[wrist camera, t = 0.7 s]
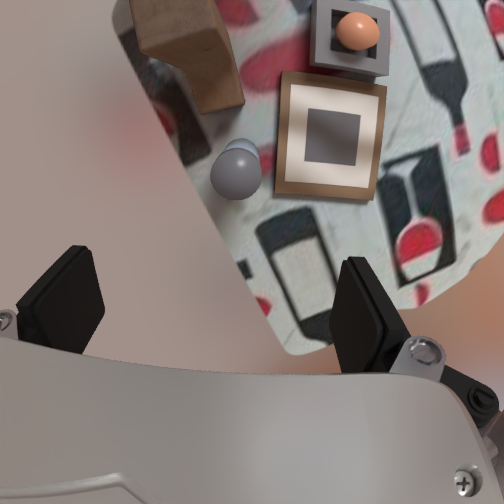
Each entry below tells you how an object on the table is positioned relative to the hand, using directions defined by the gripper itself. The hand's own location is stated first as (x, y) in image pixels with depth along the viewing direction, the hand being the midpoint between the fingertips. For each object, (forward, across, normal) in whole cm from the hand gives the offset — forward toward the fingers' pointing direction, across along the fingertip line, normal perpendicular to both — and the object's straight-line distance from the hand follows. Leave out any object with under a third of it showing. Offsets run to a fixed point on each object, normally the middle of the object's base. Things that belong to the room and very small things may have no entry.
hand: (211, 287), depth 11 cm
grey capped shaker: (+26, 0, 0) cm, 26 cm away
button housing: (+26, -11, -15) cm, 32 cm away
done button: (+23, -11, -15) cm, 29 cm away
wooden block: (+26, +3, -10) cm, 28 cm away
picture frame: (+26, -10, -3) cm, 28 cm away
